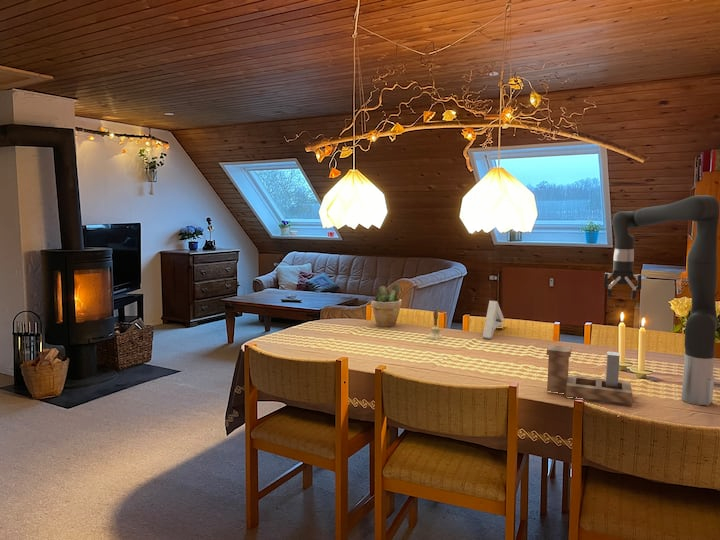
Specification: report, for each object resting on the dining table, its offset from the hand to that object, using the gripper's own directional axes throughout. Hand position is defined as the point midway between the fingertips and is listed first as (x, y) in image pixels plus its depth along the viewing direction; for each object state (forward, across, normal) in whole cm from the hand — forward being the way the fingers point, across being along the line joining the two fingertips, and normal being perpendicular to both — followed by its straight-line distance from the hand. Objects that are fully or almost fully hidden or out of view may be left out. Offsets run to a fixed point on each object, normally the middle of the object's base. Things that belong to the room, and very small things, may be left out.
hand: (621, 298), depth 231 cm
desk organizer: (+33, -11, -31) cm, 47 cm away
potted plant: (+33, -125, +54) cm, 140 cm away
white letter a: (+34, -62, +61) cm, 93 cm away
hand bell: (+33, -89, +36) cm, 102 cm away
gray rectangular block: (+32, -3, -31) cm, 45 cm away
